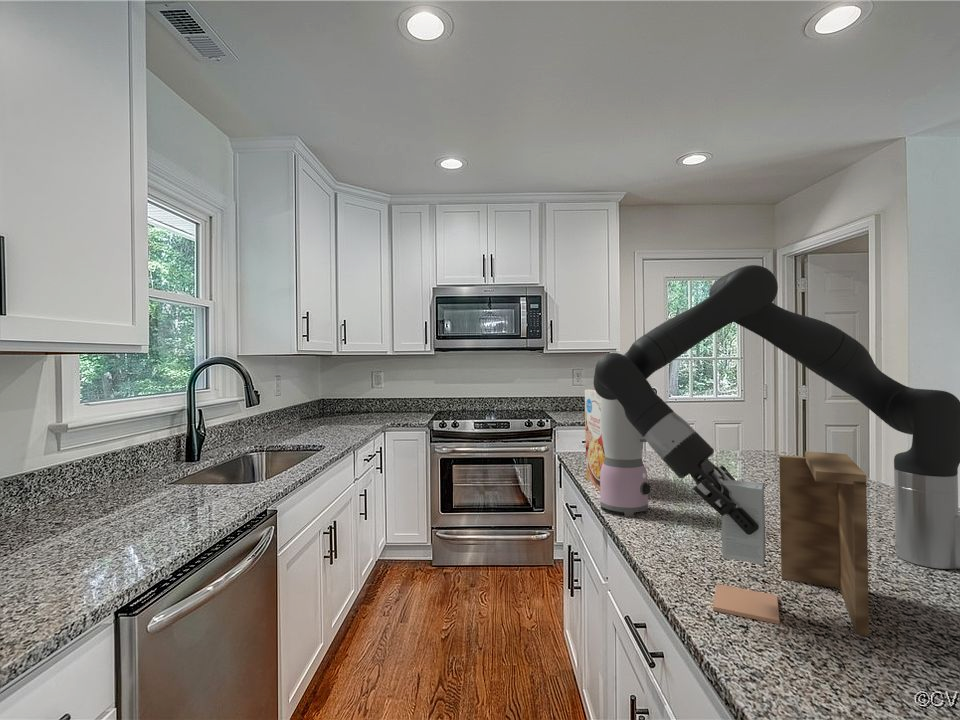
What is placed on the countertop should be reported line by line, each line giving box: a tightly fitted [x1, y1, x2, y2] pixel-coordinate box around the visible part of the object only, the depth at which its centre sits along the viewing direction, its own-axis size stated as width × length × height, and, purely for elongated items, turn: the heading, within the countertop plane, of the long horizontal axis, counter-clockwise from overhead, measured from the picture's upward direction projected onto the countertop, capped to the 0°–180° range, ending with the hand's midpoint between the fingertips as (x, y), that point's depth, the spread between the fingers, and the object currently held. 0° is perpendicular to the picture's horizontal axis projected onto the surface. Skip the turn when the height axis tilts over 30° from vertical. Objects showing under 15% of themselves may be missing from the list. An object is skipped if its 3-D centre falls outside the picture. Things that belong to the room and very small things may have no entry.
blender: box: [599, 397, 652, 518], centre depth 130 cm, size 16×12×32 cm
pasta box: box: [584, 389, 605, 492], centre depth 156 cm, size 23×8×30 cm, turn 2°
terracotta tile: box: [712, 583, 780, 625], centre depth 80 cm, size 9×9×1 cm
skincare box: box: [721, 479, 767, 566], centre depth 80 cm, size 6×4×12 cm
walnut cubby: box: [778, 451, 870, 637], centre depth 80 cm, size 10×18×23 cm, turn 151°
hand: (756, 526), depth 79 cm, fingers closed on skincare box, 4 cm apart
